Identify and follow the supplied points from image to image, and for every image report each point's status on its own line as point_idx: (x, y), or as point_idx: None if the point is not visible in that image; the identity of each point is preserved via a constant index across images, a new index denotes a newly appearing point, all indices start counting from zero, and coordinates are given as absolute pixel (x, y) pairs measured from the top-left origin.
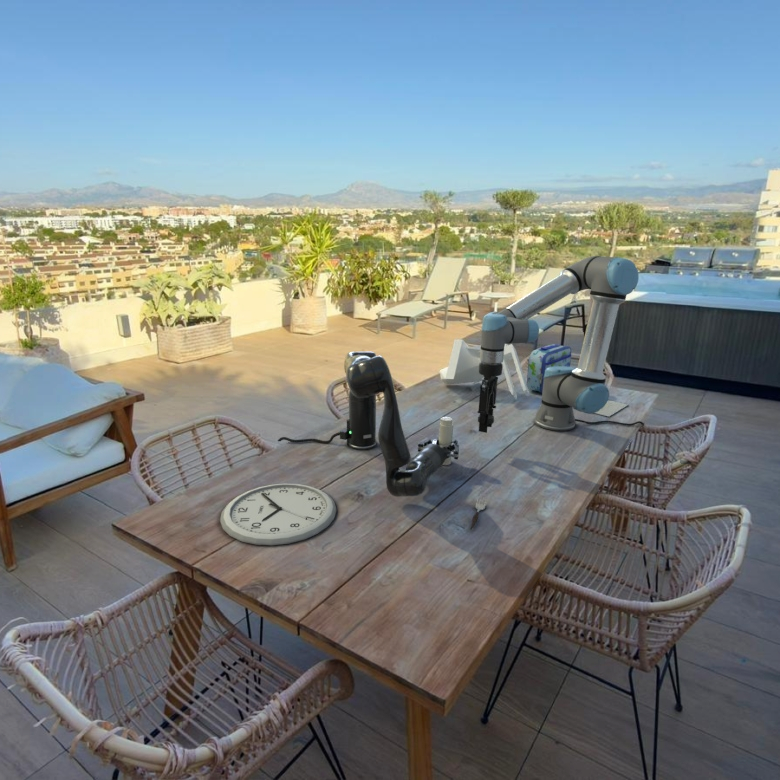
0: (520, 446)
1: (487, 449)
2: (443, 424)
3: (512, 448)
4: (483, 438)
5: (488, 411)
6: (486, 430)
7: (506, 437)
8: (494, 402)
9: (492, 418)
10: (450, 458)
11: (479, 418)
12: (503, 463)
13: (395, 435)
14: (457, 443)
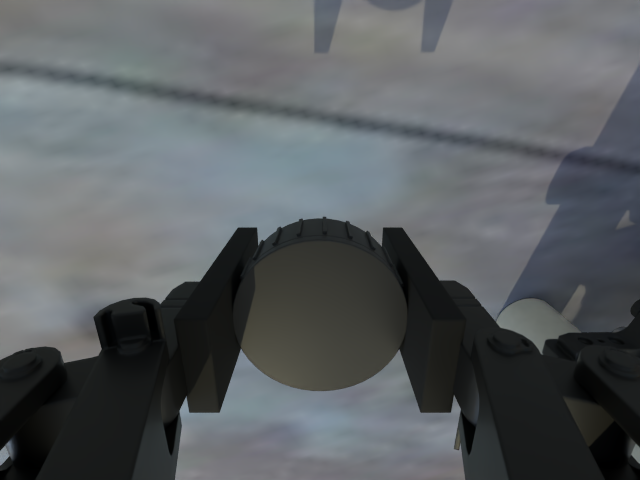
0: (125, 12)
1: (286, 193)
2: None
3: (190, 57)
4: (152, 253)
5: (225, 343)
6: (405, 235)
7: (46, 140)
8: (39, 383)
9: (353, 244)
10: (554, 314)
11: (380, 360)
12: (438, 53)
13: None
14: (580, 342)
